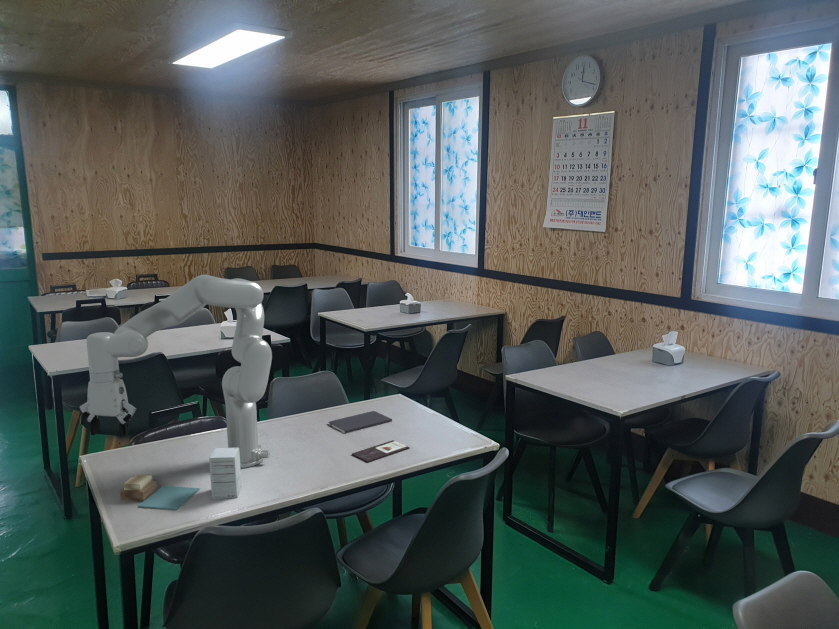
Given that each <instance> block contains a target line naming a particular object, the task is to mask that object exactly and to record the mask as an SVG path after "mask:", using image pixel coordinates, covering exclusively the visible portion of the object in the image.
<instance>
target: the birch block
mask: <svg viewBox="0 0 839 629" xmlns="http://www.w3.org/2000/svg"><path fill="white" fill-rule="evenodd" d="M152 481H153V475H152V474H151V475H150V474H148V475H147V474H135V475H133V476H132V477H131V478H129V479H128V480H127V481H125V482H124V483H123V488H124V490H133V491H141V490H143V489H144V488H145V487H146V486H148V485H149V484H150V483H152Z"/></svg>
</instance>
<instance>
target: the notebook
mask: <svg viewBox="0 0 839 629" xmlns="http://www.w3.org/2000/svg"><path fill="white" fill-rule="evenodd" d="M391 422H393V419H392V418H391V417H388V416H386V415H384V414H382V413H379V412H378V411H375V410H372V411H367V412H363V413H359V414H355V415H350V416H347V417H343V418H338V419H333V420H330V421H328V425H329V426H330V427H332V428H334V429H336V430H338V431H340V432H342V433H344V434H349V433H353V432H357V431H361V430H364V429H368V428H372V427H376V426H377V427H378V426H380V425H383V424H387V423H391Z"/></svg>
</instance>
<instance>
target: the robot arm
mask: <svg viewBox="0 0 839 629" xmlns="http://www.w3.org/2000/svg"><path fill="white" fill-rule="evenodd" d="M263 300H264V290H263V288H262V287H261V286H260V285H259V284H258V283H257V282H255V281H252V280H251V281H250V280H247V279H244V278H238V277H236V278H231V279H228V278H223V277H217V276H214V275H213V276H212V275H209V274H201V275H197V276H195V277H194V278H193V279H191V280H189V281H188V282H187V283H185V284H184V285H182V286H181V287H180V288H179V289H177V290H175V291H174V292H173V293H171V294H170V295H169V296H167V297H165V298H164V299H162V301H160V302H158V303H156V304H154V305H152V306H150V307H148V308H146V309H144V310H142V311H140V312H139V313H137V314H136V315H134V316H132V317H130V319H127V321H126V322H124V323H122V324H121V325H120V326H119V327H117V328H116V330H114V333H113V332H110V331H109V332H108V331H103V332H102V331H100V332H94V333H91V334H89V335H88V336H87V337H86V351H87V361H88V362H87V363H88V370H89V371H88V372H89V381H88V383H87V384H88V385H87V394H86V396H87V400H86V402H84V403H82V404H81V405H79V409H80V412H82V413H83V414H82V416H84V417H85V418H86V421H87V422H88V423H89V428H90V435H91V436H95V435H97V434H99V433H100V432H101V425H100V419H99V418H98V417H100V416H101V417H116V418H117V420H118V421H119V422H120V423H119V424H118V428H119V437H120V438H124V437H126V436H127V435H129V433H130V425H129V424H130V423H129V421H131V419H132V418H133V417H134V416H135V413H136V411H137V408H136V407H135V406H134V405H133V404H130V403H129V399H128V393H127V389H126V385H125V383H124V380H123V379H121V378H123V372H120V367H119V358H137V357H140V356H142V355H144V354H145V353H146V352H147V350H148V347H149V341H148V337H150V336H151V335H152V334H154V333H156V332H158V331H159V330H160V331H161V330H163V329H165V328H170V327H174V326H177V325H180V324H183V323H184V322H185V321H186V320H188V319H189V318H191V317H192V316H193V315H195V313H197V312H198V311H200V310H201V309H202V308H204V307H205V306H206V305H209V306H214V307H221V308H232V309H234V310H235V312H236V323H235V324H236V325H235V330H234V336H233V339H232V340H233V341H232V345H231V355H232V357H233V359H234V360H235V361H237V362H238V363H240V366H238V365H237V366H236V365H235V366H232V367H230V368H228V369H227V370H226V371H225V373H224V374H223V377H222V381H221V386H222V388H221V389H222V392H223V393H222V394H223V398H224V403H225V417H226V418H225V419H226V434H227V436H226V437H227V448H239V453H240V469H242V468H243V469H246V468H250V467H254V466H256V465H259V464H260V463H262V462H263V461H264V459H270V456H271V454H270V450H269V449H262V445H261V444H259V436H258V419H257V418H258V417H257V413H258V412H257V402H259V400H261V399H262V398H263V396H264V395H265V392H266V390H267V386H268V382H269V376H270V371H271V366H272V360H273V351H272V348H271V346H270V345H269V343H268V342H267V341H266V340H264V339H263V333H264V327H265V326H264V325H265V311H264V310H265V309H264V306H263V304H262V303H263Z"/></svg>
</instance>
